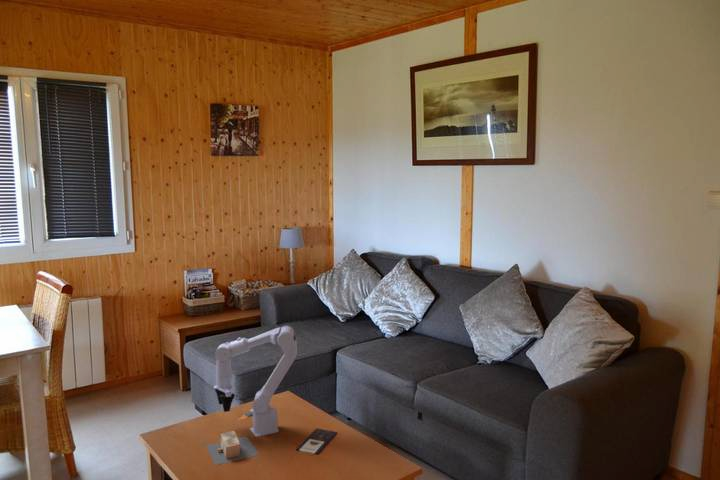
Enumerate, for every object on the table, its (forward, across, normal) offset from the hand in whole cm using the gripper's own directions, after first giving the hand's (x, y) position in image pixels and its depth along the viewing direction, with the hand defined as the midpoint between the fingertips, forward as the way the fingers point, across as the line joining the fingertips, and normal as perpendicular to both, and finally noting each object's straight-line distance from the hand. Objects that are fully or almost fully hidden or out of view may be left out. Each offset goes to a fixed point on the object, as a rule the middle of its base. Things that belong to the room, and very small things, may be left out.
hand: (224, 407), depth 227 cm
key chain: (+11, -10, +12) cm, 19 cm away
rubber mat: (+10, +16, -1) cm, 19 cm away
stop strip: (+10, +16, -2) cm, 19 cm away
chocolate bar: (+10, +24, +30) cm, 40 cm away
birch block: (+6, +14, -2) cm, 15 cm away
